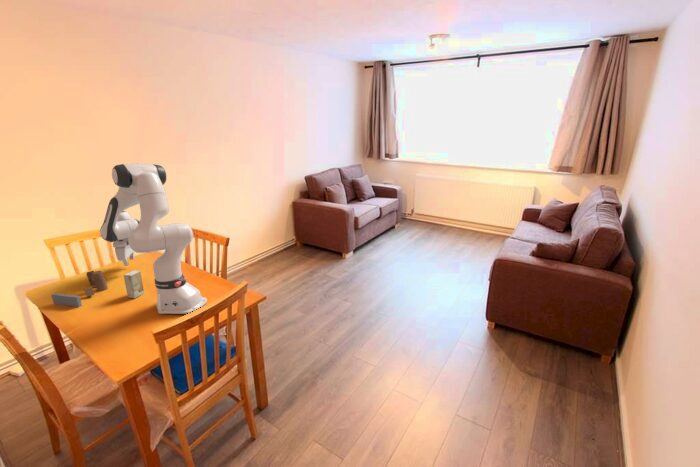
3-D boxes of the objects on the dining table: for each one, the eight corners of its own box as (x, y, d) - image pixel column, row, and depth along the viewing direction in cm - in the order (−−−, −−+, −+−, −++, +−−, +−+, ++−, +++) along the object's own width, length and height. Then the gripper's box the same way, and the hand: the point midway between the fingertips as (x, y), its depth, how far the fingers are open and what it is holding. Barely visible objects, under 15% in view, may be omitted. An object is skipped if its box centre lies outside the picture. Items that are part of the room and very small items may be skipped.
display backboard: (81, 305, 157) (79, 295, 156) (78, 307, 156) (76, 297, 154) (57, 302, 160) (54, 293, 158) (54, 304, 158) (51, 294, 157)
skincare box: (134, 298, 164) (130, 275, 160) (127, 297, 165) (122, 275, 161) (145, 292, 170) (140, 270, 166) (137, 292, 171) (133, 269, 167)
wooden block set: (86, 286, 177) (80, 268, 173) (106, 280, 182) (100, 263, 178) (87, 299, 164) (80, 281, 160) (108, 293, 168) (102, 275, 165)
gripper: (124, 234, 196) (129, 256, 200) (111, 245, 177) (116, 269, 181) (136, 233, 198) (140, 255, 202) (125, 244, 179) (129, 268, 183)
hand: (129, 262), depth 191 cm, fingers open, 8 cm apart
